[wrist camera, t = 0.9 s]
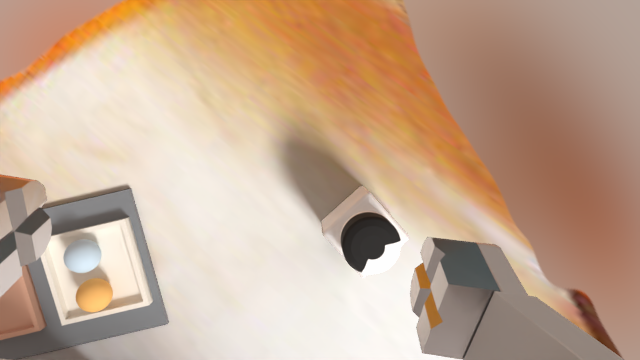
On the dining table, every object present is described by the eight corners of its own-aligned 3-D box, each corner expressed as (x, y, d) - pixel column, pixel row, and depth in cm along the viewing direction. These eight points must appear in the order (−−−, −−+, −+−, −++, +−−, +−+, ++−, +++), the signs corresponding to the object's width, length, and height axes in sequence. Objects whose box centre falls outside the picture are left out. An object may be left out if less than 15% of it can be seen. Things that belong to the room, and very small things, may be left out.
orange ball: (122, 300, 54) (107, 313, 50) (91, 307, 54) (74, 321, 50) (113, 270, 54) (97, 281, 50) (82, 277, 54) (64, 289, 50)
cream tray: (153, 300, 55) (149, 305, 53) (68, 320, 55) (61, 325, 53) (129, 216, 53) (124, 219, 52) (42, 237, 53) (35, 240, 52)
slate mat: (168, 322, 56) (167, 324, 55) (-33, 369, 56) (-37, 371, 55) (130, 188, 54) (128, 189, 53) (-78, 237, 54) (-82, 238, 53)
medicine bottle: (320, 221, 55) (322, 245, 43) (361, 184, 54) (376, 197, 42) (356, 261, 55) (369, 296, 43) (398, 225, 55) (422, 249, 43)
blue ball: (111, 263, 54) (95, 273, 50) (80, 270, 54) (61, 281, 50) (102, 232, 53) (85, 240, 49) (71, 239, 53) (51, 248, 49)
